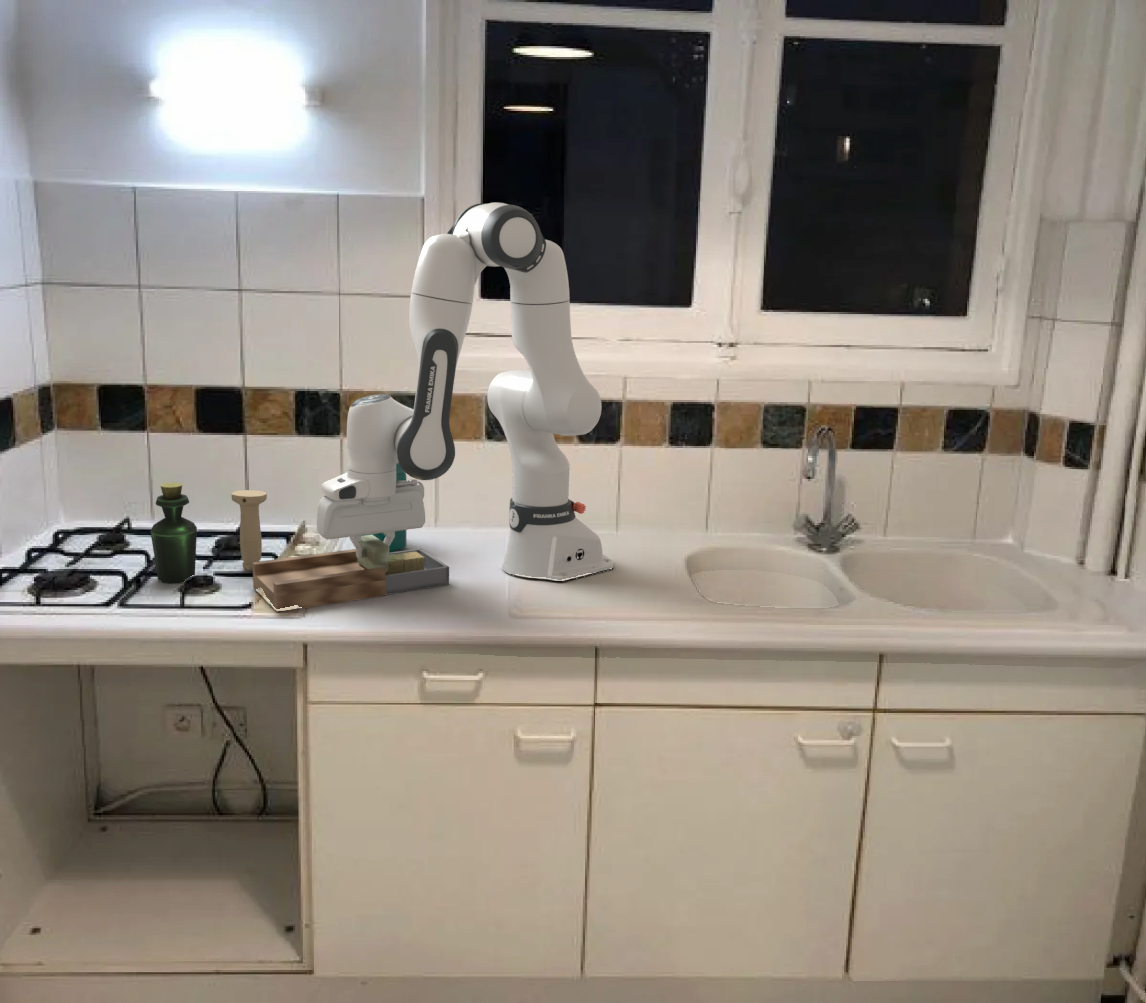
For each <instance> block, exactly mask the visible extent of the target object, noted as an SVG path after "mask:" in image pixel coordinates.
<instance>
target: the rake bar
mask: <svg viewBox="0 0 1146 1003" xmlns="http://www.w3.org/2000/svg"><path fill="white" fill-rule="evenodd" d="M358 542H359V544H360V546H361V547H362V546H363V547H364V548H366V549H367V553H366V554H367V557H365V558H358V557H357V562H358V563H360V564H361V565H362V566H364V567H365V568H366V569H372V568H379V567H383V568H384V569H385V572H389V553H390V552H389V546H388V545H387V544H385V543H384V542H382V541H381V540H379V539H378V538H376V537H375V536H373V535H365V536H361V541H358Z"/></svg>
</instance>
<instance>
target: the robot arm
mask: <svg viewBox="0 0 1146 1003" xmlns="http://www.w3.org/2000/svg"><path fill="white" fill-rule="evenodd" d="M486 267H493V268H494V267H495V268H496V267H497V268H498V267H502V268H504V270H505V272H506V274H507V277H508V280H509V286H510V288H509V290H510V291H509V294H510V296H509V297H510V298H509V299H510V320H511V321H510V322H511V323H510V325H511V340H512V344H513V345H514V348H516V350H517V351H518V352H519V353H520V354H521V355H522V357H523V358H524V360H525V361H526V363H527V366H528V368H529V370H528V369H527V370H526V369H514V370H507V371H501V372H500V373H498V374H497V375H496V376H495V377H493V378H492V380H491V382H490V384H489V386H488V390H487V398H486V399H487V400H486V401H487V405H488V408H489V410H490V412H491V413H492V415H493V416H494V417H495V418H496V419H497V421H498V422H499V424H500V426H501V429H502V430H503V433H504V435H505V439H506V442H507V445H508V449H509V453H510V457H511V458H510V460H511V466H512V467H511V469H512V470H511V471H512V472H511V473H512V474H511V475H512V476H511V479H512V481H511V482H512V485H511V486H512V487H511V490H512V491H511V494H512V495H511V496H512V497H511V498H510V500H509V508H508V509H509V515H508V518H509V528H510V529H509V534H508V535H509V536H508V543H507V548H506V553H505V557H504V559H503V563H502V566H501V568H502V570H503V571H504V572H505V573H507V574H509V575H511V574H519V575H525V576H531V577H546V578H551V579H557V580H562V579H566V578H571V577H576V576H578V575H583V574H586V573H594V572H599V571H602V570H606V569H610V568H613V569H614V562H613V561H612V559H611V558H609V557H608V556H606V555H604V554H603V547H602V546H603V545H602V542H601V538H600V537H599V536H598V534H597V533H596V532H595V531H593V530H592V529H591V528H590V527H588V526H587V525H586V524H584V523H583V522H582V521H581V520H580V519H578V518H577V516H576V513H578V514H580V515H581V514H582V515H583V514H585V511H586V509H587V507H586V505H585V504H584V503H581V502H580V501H576V502H575V501H573V500H571V499H570V498H569V495H570V494H569V490H570V488H569V487H570V486H569V485H570V469H571V468H570V462H569V460H568V458H567V456H566V455H565V453H564V452H563V451H562V450H561V449H560V447H559V445H558V443H557V442H556V440H555V436H554V435H559V436H563V437H565V436H568V437H569V436H571V437H572V436H583V435H586V434H588V433H590V432H591V431H593V429H594V428H595V427H596V426H597V424H598V422H599V420H600V418H601V415H602V400H601V396H600V393H599V391H598V390H597V389H596V387H594V385H592V384H591V383H590V381H589V380H588V378H587V377H586V375H585V374H584V372H583V370H582V367H581V365H580V363H579V360H578V357H577V355H576V352H575V348H574V344H573V338H572V327H571V323H572V322H571V303H570V302H571V301H570V297H571V296H570V286H569V276H568V270H567V269H568V268H567V264H566V259H565V255H564V252H563V250H562V248H561V247H560V246H559V245H558V244H557V243H555V242H553V241H552V240H548V239H545V237H544V236H543V234H542V232H541V229H540V226H539V224H538V222H537V221H536V219H535V217H534V216H533V215H532V214H531V213H530V212H529V211H528V210H526V209H524V208H523V207H520V206H518V205H515V204H507V203H504V202H490V203H485V202H484V203H476V204H472V205H470V206H469V207H467V208H465V209H464V210H463V211H462V212H461V213H460V214H459V215H458V217H457V218H456V220H455V222H454V224H453V225H452V226H451V228H450V229H449V230H448V231H447V233H441V234H436V235H432V236H431V237H429V238H428V239H427V240H426V241H425V242H424V244H423V246H422V248H421V252H420V255H419V257H418V260H417V264H416V267H415V268H416V269H415V272H414V275H413V276H414V277H413V281H412V286H411V293H410V300H409V310H408V311H409V312H408V313H409V315H408V317H409V318H408V319H409V321H408V322H409V332H410V336H411V339H412V342H413V344H414V347H415V352H416V357H417V366H418V367H417V370H418V372H417V382H416V389H415V396H414V397H415V398H414V405H413V408H411V407H410V406H409V407H408V406H406V405H404V404H402V403H400V402H399V401H397V400H395V399H394V398H393V397H392V396H391V395H388V394H385V393H384V394H383V393H382V394H371V395H366V396H362V397H360V398H357V399H356V400H355V401H353V402H352V404H351V405H350V406H349V410H348V412H347V419H346V420H347V423H346V448H347V451H348V461H347V465H346V472H344V473H343V474H340V475H338V476H336V477H333V478H331V479H329V480H326V481H325V482H322V483H321V489H320V491H321V492H322V494H324V495H323V496H322V497H321V498H320V500H319V502H318V505H317V513H316V531H317V533H318V535H319V536H321V537H322V538H323V539H325V540H327V541H328V540H334V539H335V540H336V539H342V538H343V539H344V538H349V541H350V542H351V544H352V545H353V547H354V548H355V549H356V556H357V557H358V558H365V557H367V554H366V553H367V549H366V548H364V547H363V546H362V547H361V546H360V544H359V542H358V541H361V535H368V534H376V533H384V535H386V537H385V539H384V541H383V542H384V543H385V544H387V545H388V546H390V544H391V543H392V541H393V539H394V537H395V531H400V530H415V529H421V528H423V527H424V525H425V524H426V511H425V509H426V508H425V504H424V498H425V487H424V484H423V483H422V482H421V481H433V480H435V479H438V478H440V477H442V476H444V475H445V474H446V473H447V472H448V471H449V469H451V467H452V466H453V464H454V461H455V457H456V447H455V442H454V438H453V435H452V432H451V427H450V416H451V408H452V400H453V399H452V398H453V391H454V384H455V377H456V370H457V366H458V361H459V357H460V354H461V351H462V346H463V344H464V340H465V338H466V334H467V331H468V327H469V325H470V324H469V322H470V318H471V315H472V309H473V303H474V296H475V289H476V288H475V287H476V284H477V281H478V278H479V276H480V275H481V274H482V271H484V269H485V268H486ZM397 463H399V464H400V466H401V468H402V469H403V470H404V472H405V473H406V475H407V476H409V477H410V478H414V479H409V480H407V481H396V464H397ZM575 512H576V513H575ZM599 573H600V572H599Z"/></svg>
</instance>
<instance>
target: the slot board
mask: <svg viewBox="0 0 1146 1003" xmlns="http://www.w3.org/2000/svg"><path fill="white" fill-rule="evenodd" d="M252 582H253V583H252V584H253V586H252V587H253V589H254V591H256V589H258V588H260V587H261V588H262V589H263V591H264V593H265V595H266V597H267V598H268V599H269V600H270V602H271V603H272V604H273V606H274V607H275V608H276V609H280V608H285V607H290V606H294V605H298V606H299V607H302V609H307V608H314V607H319V606H320V607H321V606H327V605H334V604H340V603H347V602H352V601H359V600H365V599H373V598H379V597H385V596H386V595H387V594H386V586H385V569H384V568H383V567H379V568H372V569H366V568H365V567H364V566H362V565H361V564H360V563H358V562H357V556H356V548H353V549H344V550H338V551H331V552H323V553H313V554H308V555H299V556H298V555H297V556H290V557H284V558H276V559H269V560H262V561H261V560H260V561H259V562H253V570H252Z"/></svg>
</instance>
